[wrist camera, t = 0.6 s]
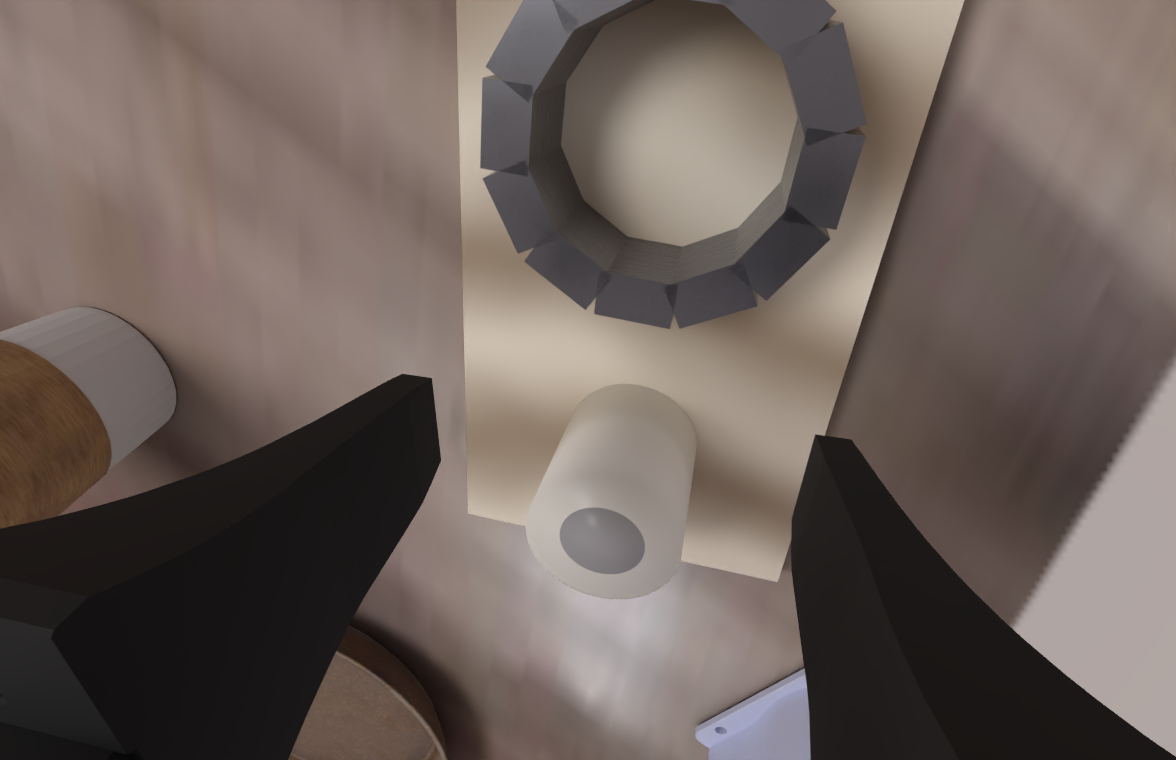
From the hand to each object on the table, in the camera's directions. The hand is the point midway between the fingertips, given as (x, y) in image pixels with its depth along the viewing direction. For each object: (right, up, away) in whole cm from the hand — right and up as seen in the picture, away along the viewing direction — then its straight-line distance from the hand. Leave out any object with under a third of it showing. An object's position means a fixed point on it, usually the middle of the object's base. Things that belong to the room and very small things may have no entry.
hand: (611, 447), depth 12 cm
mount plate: (+2, +4, +8) cm, 9 cm away
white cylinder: (+1, -1, +10) cm, 10 cm away
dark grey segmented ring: (+2, +8, +5) cm, 9 cm away
